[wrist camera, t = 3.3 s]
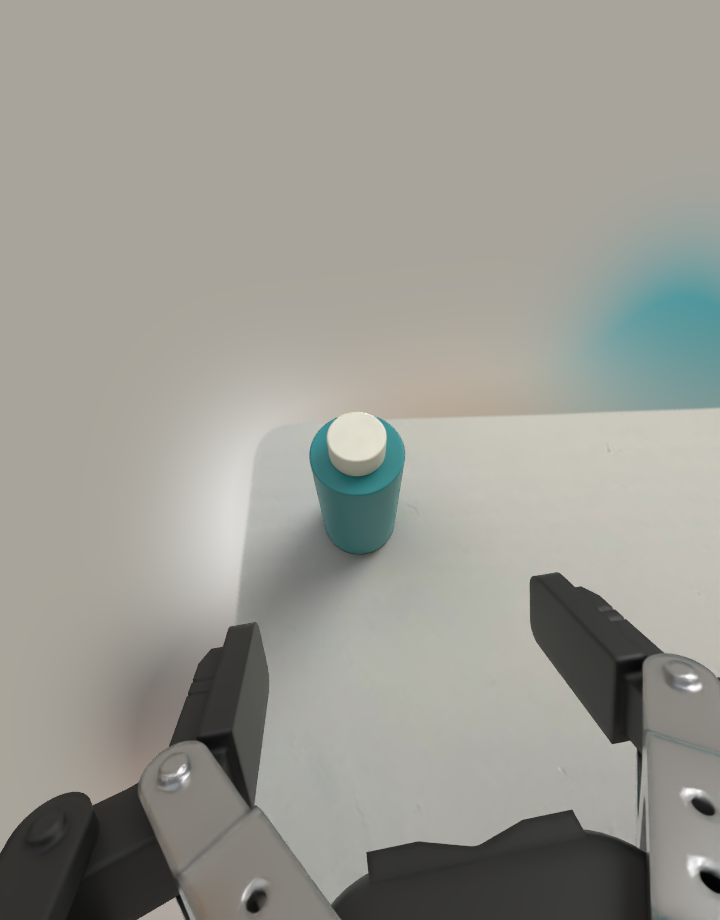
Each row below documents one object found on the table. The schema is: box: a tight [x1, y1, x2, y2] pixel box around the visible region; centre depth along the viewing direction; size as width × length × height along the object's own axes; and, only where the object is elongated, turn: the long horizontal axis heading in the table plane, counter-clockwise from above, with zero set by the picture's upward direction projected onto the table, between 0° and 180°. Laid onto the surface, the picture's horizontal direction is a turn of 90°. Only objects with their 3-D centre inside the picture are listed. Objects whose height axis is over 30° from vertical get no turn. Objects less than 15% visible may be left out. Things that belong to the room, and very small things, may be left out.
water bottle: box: [310, 412, 405, 554], centre depth 23 cm, size 4×4×10 cm
